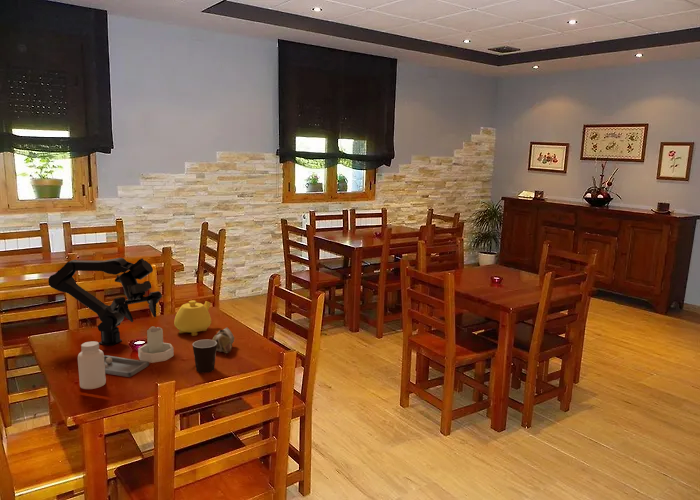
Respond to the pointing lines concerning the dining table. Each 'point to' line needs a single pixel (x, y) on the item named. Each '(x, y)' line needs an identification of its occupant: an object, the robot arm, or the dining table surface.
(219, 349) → the ceramic sculpture
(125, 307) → the robot arm
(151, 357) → the bowl
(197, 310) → the teapot
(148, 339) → the pillar candle
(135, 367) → the parts tray
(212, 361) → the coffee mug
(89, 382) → the pill bottle
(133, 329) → the dining table surface
